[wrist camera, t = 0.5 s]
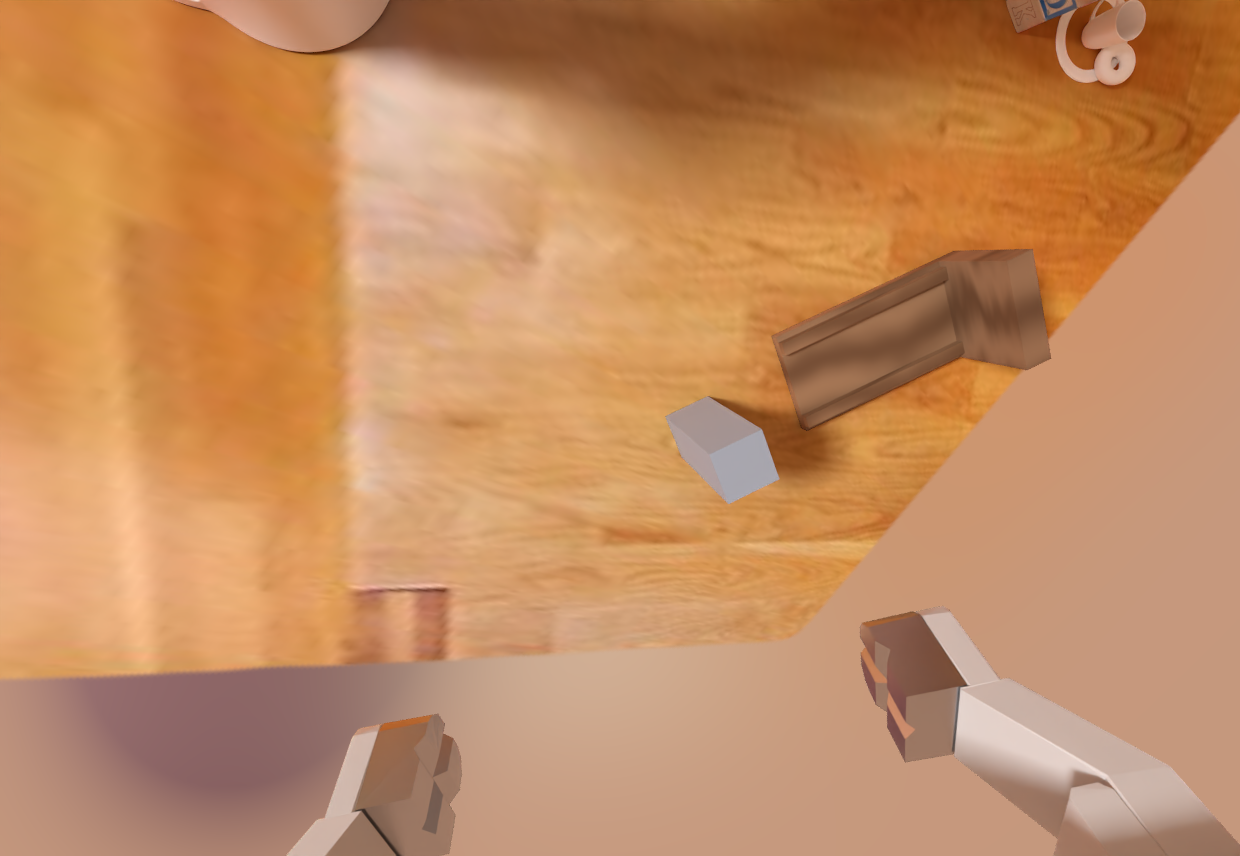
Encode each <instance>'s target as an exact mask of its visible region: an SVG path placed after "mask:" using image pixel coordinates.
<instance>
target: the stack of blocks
mask: <svg viewBox="0 0 1240 856" xmlns="http://www.w3.org/2000/svg"><path fill="white" fill-rule="evenodd" d="M1096 1H1098V0H1006V4H1007V8H1008V11H1009V13H1010V16H1011V19H1012V22H1013V24H1014V27H1015V30H1016V32H1017V33H1019V32H1022V31H1024V30H1027V29H1029V28H1031V27H1034V26H1036V25H1038V24H1041V23H1043V22H1045V21H1047V20H1049V19H1052V18H1055V17H1057V16H1060V15H1062V14H1065V13H1067V12H1070V11H1072V10H1075V9H1077V8H1079V7H1084V6H1086V5H1089V4H1091V3H1093V2H1096Z"/></svg>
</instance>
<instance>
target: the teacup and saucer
mask: <svg viewBox="0 0 1240 856" xmlns="http://www.w3.org/2000/svg"><path fill="white" fill-rule="evenodd" d="M1103 1H1104V0H1101V1H1100V2H1099V3H1098V4H1097V5H1096V7H1095V9H1094V10H1093V12H1092V14H1091V17H1090V20H1089V22H1088V24H1087V25H1086V26H1085V27H1084V29H1083V31H1082V36H1081V39H1082V43H1083V45H1084V46H1085V47H1086V48H1089V49H1100V48H1102V49H1101V51H1100V52H1099V54H1098V55H1097V57H1096V60H1095V64H1094V69H1091V70H1083V69H1080V68H1078V67H1077V66H1075V65H1074V64H1073V63H1072V62H1071V60H1070V58H1069V56H1068V54H1067V50H1066V44H1065V37H1066V30H1067V26H1068V23H1069V21H1070V19H1071V17H1072V15H1073V13H1074V12H1075V11H1076V9H1075V10H1072V11H1070V12H1067V13H1065V14H1062V15H1061V17H1060V20H1059V23H1058V27H1057V32H1056V53H1057V57H1058V60H1059V63H1060V65H1061V67H1062V69H1063V70H1064V72H1065V73H1066V74H1067V75H1068V76H1069V77H1070V78H1072V79H1073V80H1075V81H1078V82H1082V83H1090V82H1095V81H1097V80H1099V81H1100V82H1102V83H1103V84H1106V85H1117V84H1120V83H1122V82H1124V81H1125V80H1126V79H1127V78H1128V77H1129V76H1130V75H1131V74H1132V72H1133V70H1134V67H1135V63H1136V58H1135V53H1134V50H1133V49H1132V47H1131V46H1130V45H1128V44H1127V42H1128V41H1130V40H1133V39H1135V38H1136V37H1137V36H1138V35H1139V34H1140V33H1141V31H1142V29H1143V27H1144V25H1145V20H1146V12H1145V8H1144V6H1143V4H1142V3H1141V2H1140V1H1138V0H1129V1H1126V2H1125V1H1124V0H1105V1H1107V2H1108V3H1110V4H1111V5H1112V7H1113V8H1112V9H1109V10H1108V11H1106V12H1104V13H1102V14H1100V15H1098V16H1097V17H1095V14H1096V12H1097V10H1098V8H1099V6H1100V5H1101V4H1102V2H1103ZM1118 62H1119V68H1118V70H1114V68H1115V66H1116V65H1117V64H1118Z"/></svg>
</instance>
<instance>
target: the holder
mask: <svg viewBox="0 0 1240 856" xmlns="http://www.w3.org/2000/svg"><path fill="white" fill-rule="evenodd" d="M772 339H773V342H774V345H775V348H776V351H777V354H778V357H779V360H780V363H781V366H782V369H783V372H784V375H785V379H786V382H787V385H788V388H789V391H790V394H791V397H792V400H793V403H794V406H795V409H796V412H797V415H798V418H799V421H800V424H801V427H802V429H804V430H806V431H807V430H810V429H812V428H814V427H816V426H818V425H820V424H822V423H824V422H826V421H828V420H830V419H832V418H834V417H836V416H839V415H841V414H843V413H845V412H847V411H849V410H851V409H853V408H855V407H857V406H859V405H861V404H863V403H865V402H867V401H870V400H872V399H874V398H876V397H878V396H880V395H882V394H884V393H886V392H888V391H890V390H892V389H894V388H896V387H899V386H901V385H903V384H905V383H907V382H909V381H911V380H913V379H915V378H917V377H919V376H921V375H923V374H925V373H928V372H930V371H932V370H934V369H936V368H938V367H940V366H942V365H944V364H946V363H948V362H950V361H952V360H954V359H956V358H959V357H964V358H969V359H974V360H979V361H984V362H989V363H994V364H999V365H1004V366H1009V367H1014V368H1019V369H1024V370H1028V369H1030V368H1032V367H1035V366H1037V365H1039V364H1041V363H1042V362H1045V361H1047V360H1049V359H1051V355H1050V349H1049V343H1048V337H1047V331H1046V325H1045V319H1044V313H1043V307H1042V302H1041V296H1040V290H1039V284H1038V278H1037V272H1036V266H1035V260H1034V254H1033V249H1015V250H972V251H953V252H951V253H948V254H946V255H944V256H942V257H940V258H938V259H936V260H933V261H931V262H929V263H927V264H925V265H923V266H921V267H918V268H916V269H914V270H912V271H910V272H908V273H906V274H903V275H901V276H899V277H897V278H895V279H893V280H891V281H888V282H886V283H884V284H882V285H880V286H878V287H876V288H873V289H871V290H869V291H867V292H865V293H863V294H861V295H858V296H856V297H854V298H852V299H850V300H848V301H846V302H843V303H841V304H839V305H837V306H835V307H833V308H831V309H828V310H826V311H824V312H822V313H820V314H818V315H816V316H813V317H811V318H809V319H807V320H805V321H803V322H801V323H798V324H796V325H794V326H792V327H790V328H788V329H786V330H783V331H781V332H779V333H777V334H775V335H773V336H772Z"/></svg>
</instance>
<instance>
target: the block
mask: <svg viewBox="0 0 1240 856" xmlns="http://www.w3.org/2000/svg"><path fill="white" fill-rule="evenodd" d="M665 417H666V419H667V422H668V424H669V427H670V429H671V432H672V434H673V437H674V439H675V441H676V444H677V446H678V449H679V451H680V454H681V456H682V458H683V459H684V460H685V461H686V462H687V463H688V464H689V465H690V466H691V467H692V468H693V469H694V470H695V471H696V472H697V473H698V474H699V475H700V476H701V477H702V478H703V479H704V480H705V481H706V482H707V483H708V484H709V485H710V486H711V487H712V488H713V489H714V490H715V491H716V492H717V493H718V494H719V495H720V496H721V497H722V498H723V499H724V500H725V501H726V502H727V503H728V504H730V503H732V502H734V501H736V500H738V499H740V498H742V497H744V496H746V495H748V494H750V493H752V492H754V491H756V490H758V489H760V488H762V487H764V486H766V485H768V484H770V483H773V482H775V481H777V480H779V477H778V474H777V471H776V468H775V465H774V462H773V459H772V457H771V454H770V451H769V448H768V445H767V442H766V440H765V437H764V434H763V431H762V429H761V428H759V427H757V426H756V425H754V424H752V423H751V422H749V421H747V420H746V419H744V418H743V417H741V416H739V415H738V414H736V413H734V412H733V411H731V410H729V409H728V408H726V407H725V406H723V405H721V404H720V403H718V402H716V401H715V400H713V399H711V398H710V397H705V398H703V399H701V400H699V401H697V402H695V403H693V404H691V405H688V406H686V407H684V408H682V409H680V410H678V411H676V412H674V413H671V414H669V415H667V416H665Z"/></svg>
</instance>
